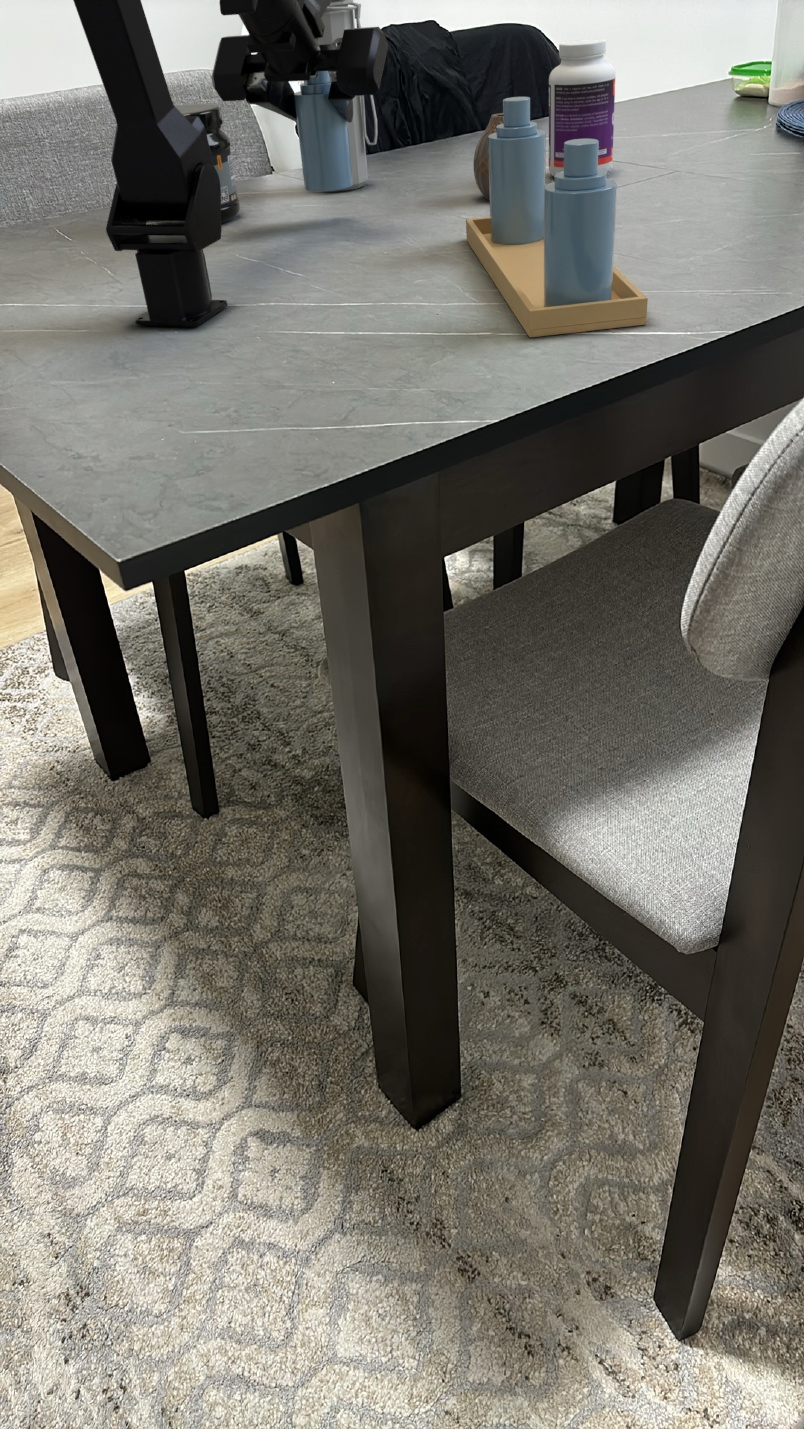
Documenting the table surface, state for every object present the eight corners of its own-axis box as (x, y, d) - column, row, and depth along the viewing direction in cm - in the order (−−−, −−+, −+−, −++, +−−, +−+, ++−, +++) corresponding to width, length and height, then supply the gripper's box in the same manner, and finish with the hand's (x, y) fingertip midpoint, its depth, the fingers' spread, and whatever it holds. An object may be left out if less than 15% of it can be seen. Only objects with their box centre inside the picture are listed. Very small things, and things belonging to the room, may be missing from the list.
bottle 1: (550, 241, 105) (551, 99, 97) (495, 247, 105) (492, 105, 97) (538, 228, 109) (539, 92, 102) (486, 234, 109) (483, 98, 101)
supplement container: (142, 223, 129) (118, 114, 122) (214, 206, 134) (196, 100, 127) (182, 235, 123) (160, 119, 115) (257, 216, 127) (241, 105, 120)
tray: (646, 324, 84) (648, 297, 82) (529, 337, 83) (529, 311, 82) (555, 230, 110) (555, 209, 109) (466, 240, 110) (465, 219, 109)
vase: (536, 190, 127) (536, 108, 122) (526, 202, 122) (525, 118, 117) (481, 191, 129) (478, 111, 124) (469, 204, 124) (466, 121, 118)
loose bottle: (342, 191, 116) (329, 61, 109) (297, 192, 118) (281, 63, 111) (360, 181, 121) (348, 54, 113) (316, 181, 122) (302, 57, 115)
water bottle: (306, 194, 136) (278, -40, 121) (326, 181, 142) (302, -44, 127) (372, 193, 133) (351, -47, 118) (390, 180, 139) (373, -50, 124)
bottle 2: (619, 316, 84) (627, 143, 76) (551, 323, 84) (553, 151, 76) (601, 297, 89) (607, 132, 81) (537, 304, 88) (537, 139, 81)
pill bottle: (624, 175, 130) (630, 39, 121) (567, 184, 128) (570, 47, 119) (591, 166, 136) (595, 36, 127) (537, 175, 134) (537, 44, 125)
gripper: (372, -73, 99) (418, 49, 114) (203, -57, 105) (267, 58, 120) (350, 33, 98) (399, 142, 113) (180, 43, 104) (248, 146, 119)
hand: (327, 119), depth 116 cm, fingers closed on loose bottle, 5 cm apart
